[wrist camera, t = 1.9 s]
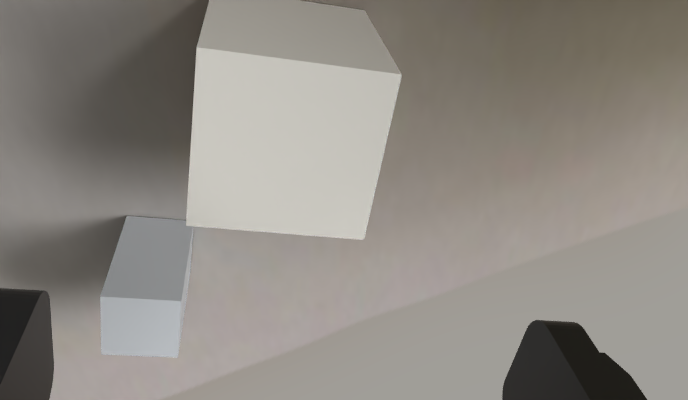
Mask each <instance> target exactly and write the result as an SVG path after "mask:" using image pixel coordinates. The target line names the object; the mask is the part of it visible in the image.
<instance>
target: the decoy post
mask: <svg viewBox="0 0 688 400" xmlns="http://www.w3.org/2000/svg"><path fill="white" fill-rule="evenodd" d="M192 241H193V226H186V220H174V219H162V218H149V217H137V216H127V217H126V220H125V223H124V226H123V229H122V232H121V235H120V238H119V241H118V244H117V247H116V250H115V253H114V256H113V259H112V262H111V265H110V268H109V271H108V274H107V277H106V280H105V283H104V286H103V289H102V292H101V295H100V313H101V354H102V355H127V356H152V357H176V358H178V353H179V346H180V340H181V333H182V326H183V319H184V312H185V306H186V299H187V292H188V285H189V278H190V271H191V256H192Z"/></svg>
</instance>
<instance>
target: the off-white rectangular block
mask: <svg viewBox="0 0 688 400" xmlns="http://www.w3.org/2000/svg"><path fill="white" fill-rule="evenodd" d="M401 77H402V74H401V72H400V70H399V69H398V67H397V65H396V63H395V62H394V60H393V58H392V57H391V55H390V53H389V51H388V50H387V48H386V46H385V45H384V43H383V41H382V39H381V38H380V36H379V34H378V33H377V31H376V29H375V28H374V26H373V24H372V22H371V21H370V19H369V17H368V16H367V14H366V12H365V10H360V9H353V8H346V7H340V6H333V5H327V4H320V3H314V2H307V1H300V0H209V3H208V7H207V10H206V14H205V18H204V22H203V25H202V29H201V33H200V37H199V40H198V44H197V50H196V66H195V83H194V100H193V116H192V133H191V149H190V166H189V182H188V199H187V216H186V226H195V227H208V228H220V229H233V230H245V231H258V232H270V233H283V234H295V235H308V236H321V237H333V238H346V239H358V240H364V237H365V233H366V229H367V224H368V220H369V216H370V211H371V207H372V203H373V198H374V194H375V190H376V185H377V181H378V177H379V172H380V168H381V164H382V159H383V155H384V151H385V146H386V142H387V137H388V133H389V129H390V124H391V120H392V116H393V111H394V107H395V103H396V98H397V94H398V90H399V85H400V81H401Z"/></svg>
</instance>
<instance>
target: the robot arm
mask: <svg viewBox="0 0 688 400" xmlns="http://www.w3.org/2000/svg"><path fill="white" fill-rule="evenodd" d="M53 372H54V359H53V343H52V328H51V312H50V299H49V295H48V293H47V291H39V290H21V289H4V288H0V400H49V398H50V393H51V388H52V382H53ZM503 400H647V399H646V397H645V396H644V395H643V393H642V392H641V390H640V389H639V387H638V386H637V384H636V383H635V381H634V380H633V379H632V377H631V376H630V375H629V374H628V373H627V372H626V371H625V370H624V369H623V368H621V367H620V366H619V365H618V364H617V363H616V362H614V361H613V360H612V359H611V358H610V357H609V356H608V355H606V354H605V353H599V351H598V350H597V348H596V347H595V345H594V344H593V342H592V341H591V339H590V338H589V336H588V335H587V333H586V332H585V330H584V329H583V327H582V326H580V325H579V324H578V323H575V322H561V321H543V320H535V321H533V322H532V323H531V324H530V325H529V326H528V328H527V330H526V332H525V334H524V337H523V339H522V342H521V344H520V346H519V348H518V351H517V353H516V356H515V358H514V360H513V363H512V365H511V367H510V370H509V372H508V374H507V377H506V379H505V382H504V386H503Z"/></svg>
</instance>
